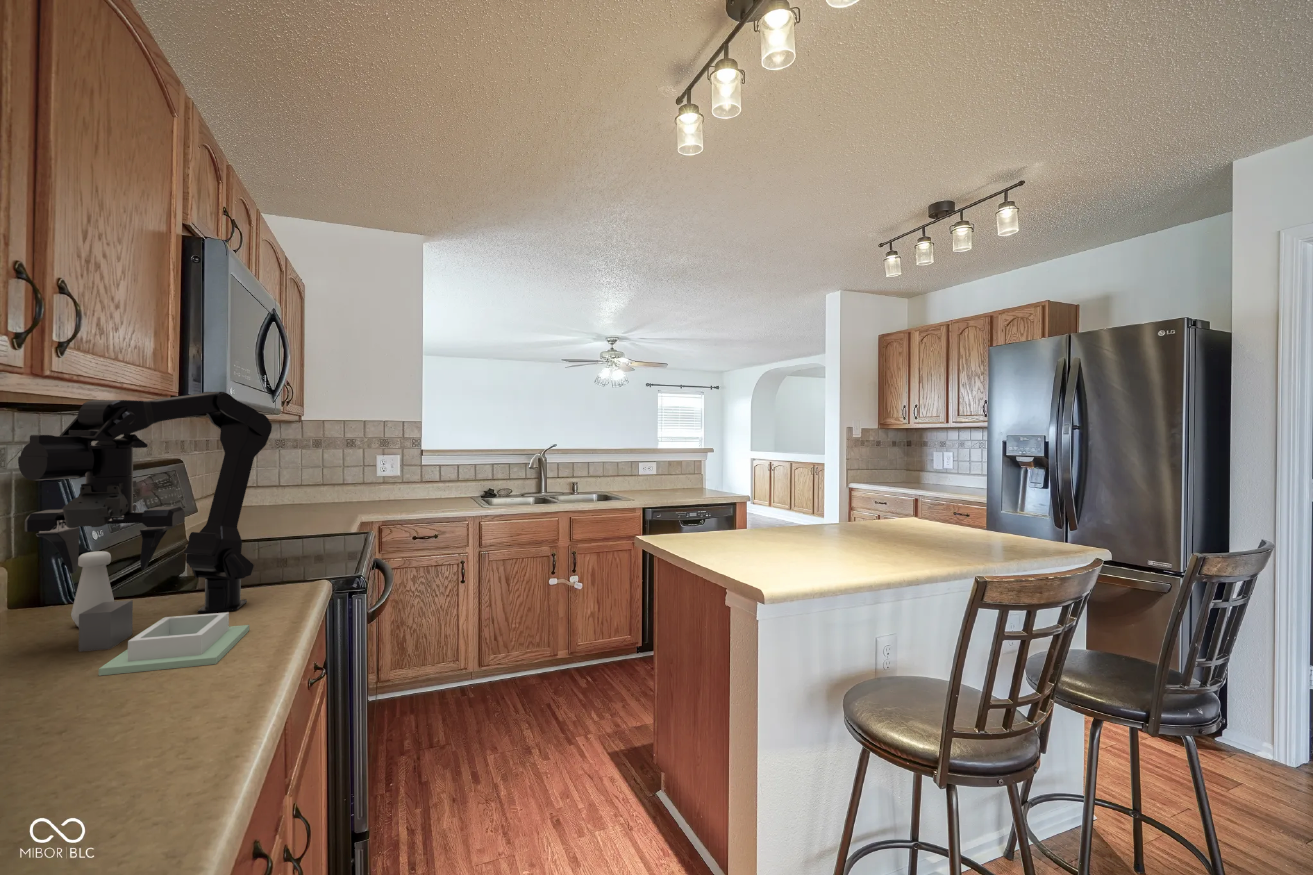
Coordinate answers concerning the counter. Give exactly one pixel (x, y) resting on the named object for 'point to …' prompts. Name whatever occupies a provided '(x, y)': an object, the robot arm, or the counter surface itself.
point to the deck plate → (178, 644)
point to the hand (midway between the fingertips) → (109, 570)
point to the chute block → (105, 625)
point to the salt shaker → (92, 583)
